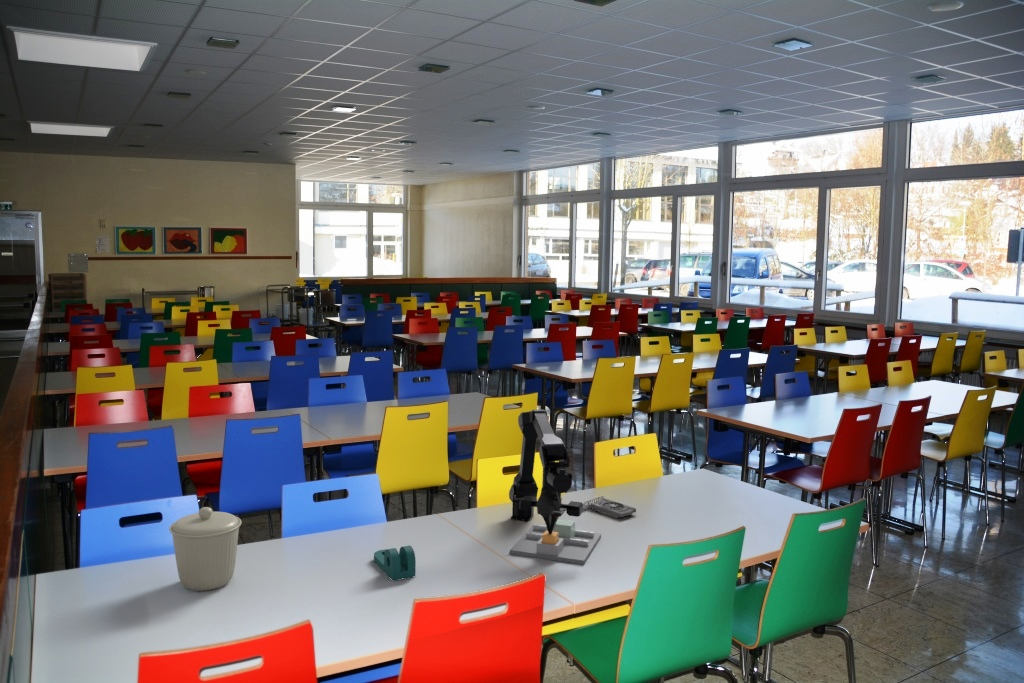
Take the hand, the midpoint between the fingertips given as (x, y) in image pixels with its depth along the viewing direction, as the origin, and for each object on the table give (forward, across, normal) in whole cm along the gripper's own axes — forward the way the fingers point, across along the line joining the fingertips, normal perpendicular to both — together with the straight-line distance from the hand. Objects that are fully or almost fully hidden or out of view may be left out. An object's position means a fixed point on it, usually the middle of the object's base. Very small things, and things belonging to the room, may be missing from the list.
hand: (550, 533), depth 240 cm
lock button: (+5, 0, 0) cm, 5 cm away
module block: (+5, 0, +12) cm, 13 cm away
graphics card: (+7, +9, +46) cm, 47 cm away
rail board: (+6, 0, +9) cm, 11 cm away
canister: (+7, -81, -54) cm, 98 cm away
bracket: (+7, -40, -26) cm, 48 cm away
